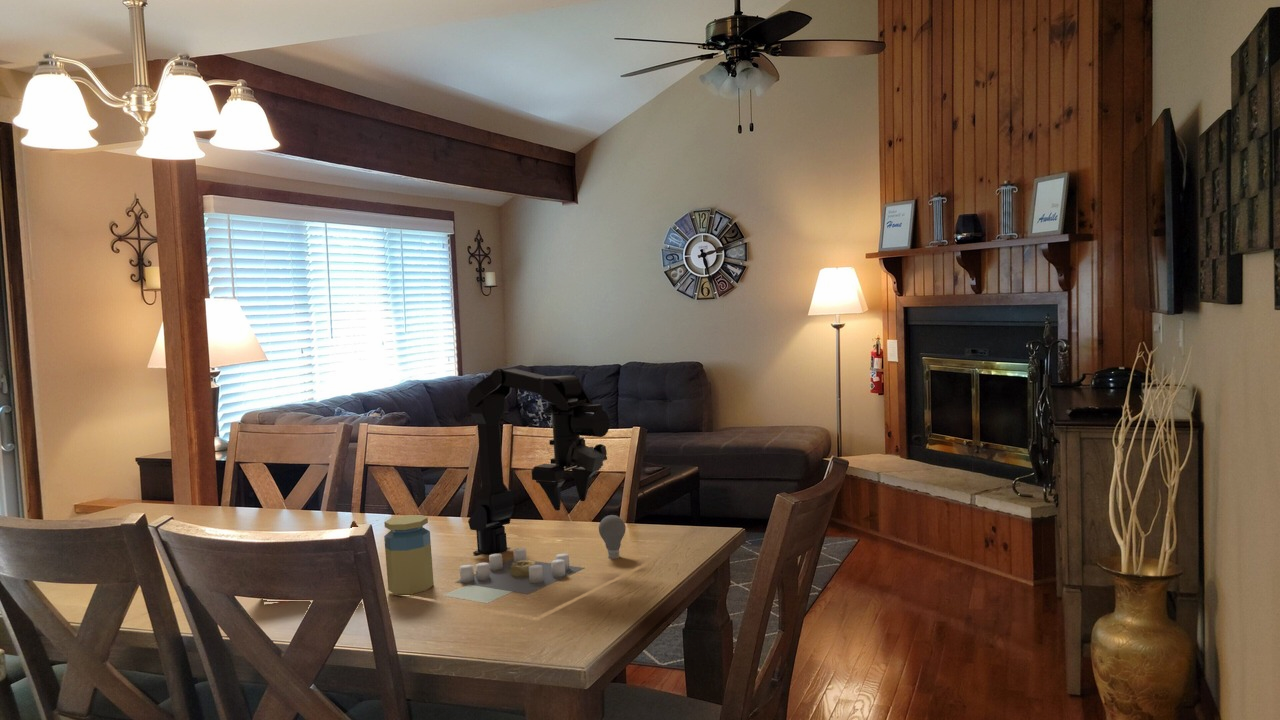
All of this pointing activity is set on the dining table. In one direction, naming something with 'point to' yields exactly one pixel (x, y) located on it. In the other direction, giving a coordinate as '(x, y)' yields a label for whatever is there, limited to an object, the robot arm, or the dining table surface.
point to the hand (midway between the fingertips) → (570, 505)
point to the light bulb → (612, 534)
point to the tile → (477, 593)
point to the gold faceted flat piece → (521, 568)
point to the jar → (408, 555)
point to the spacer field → (502, 579)
